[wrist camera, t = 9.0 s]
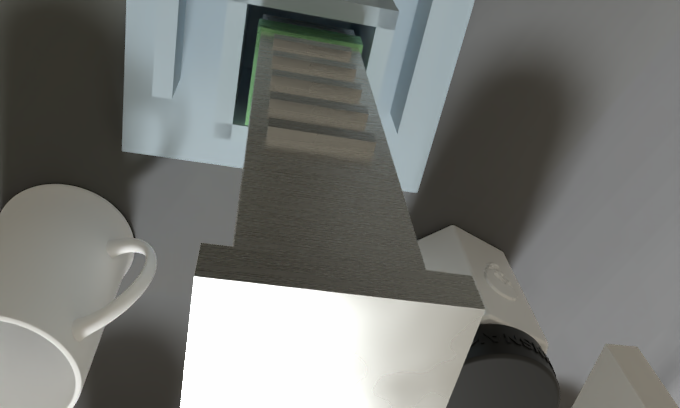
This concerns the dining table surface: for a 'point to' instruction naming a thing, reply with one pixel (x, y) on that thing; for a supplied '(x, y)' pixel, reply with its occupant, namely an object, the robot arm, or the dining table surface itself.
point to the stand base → (237, 62)
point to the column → (321, 252)
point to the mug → (60, 290)
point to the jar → (495, 329)
